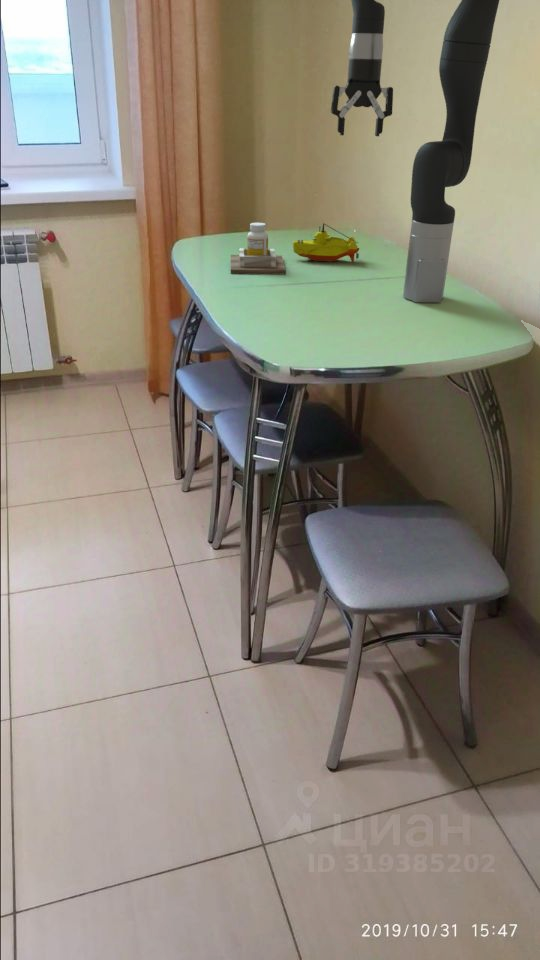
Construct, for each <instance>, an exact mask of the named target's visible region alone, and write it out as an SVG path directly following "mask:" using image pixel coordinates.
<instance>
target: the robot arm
mask: <svg viewBox="0 0 540 960" xmlns="http://www.w3.org/2000/svg"><path fill="white" fill-rule="evenodd" d="M499 4H500V0H460V3H459V4H458V5H457V7H456V9H455V11H454V12H453V14H452V16H451V17H450V20H449V21H448V23H447V25H446V27H445V31H444V34H443V41H442V47H441V51H440V52H441V53H440V58H439V64H438V65H439V66H438V71H439V72H438V73H439V80H440V85H441V89H442V92H443V93H442V94H443V97H444V101H445V102H444V103H445V106H446V107H445V108H446V109H445V110H446V116H445V117H446V118H445V126H444V132H443V137H442V140H439V141H429V142H425V143H424V144H422V145H421V146H420V147H419V149H418V150H417V152H416V154H415V157H414V160H413V165H412V171H411V172H412V173H411V187H410V188H411V189H410V208H411V211H412V216H411V224H410V232H409V242H408V248H407V256H406V257H407V258H406V266H405V275H404V283H403V284H404V285H403V294H402V296H403V298H405V299H407V300H409V301H412V302H413V303H441V302H442V301H443V298H444V294H445V286H446V279H447V278H446V277H447V271H448V264H449V259H450V258H449V257H450V250H451V243H452V237H453V230H454V224H455V219H456V218H455V217H456V209H455V208H454V207H453V206H452V205H450V204H448V203H447V202H446V198H445V197H446V194H445V193H446V188H449V187H455V186H458V185H461V183H462V182H463V181H464V180H465V179H466V177H467V175H468V172H469V171H470V167H471V162H472V155H473V144H474V136H475V127H476V120H477V119H476V118H477V114H478V107H479V103H480V96H481V90H482V88H483V86H482V85H483V80H484V75H485V71H486V67H487V64H488V63H487V62H488V60H489V54H490V48H491V43H492V37H493V32H494V26H495V22H496V17H497V12H498V8H499ZM351 6H352V13H353V14H352V25H351V38H350V45H349V51H348V68H347V83H346V85H345V86H341V85H340V86H339V85H334V86H333V88H332V97H331V98H332V99H331V105H330V106H331V107H330V113H331V114H332V115H334V116H336V117H337V133H339V135H340V136H344V135H345V123H346V118H345V116H346V114H348V112H349V111H350V110H351V108H352V107H354V108H360V107H362V108H363V107H364V108H370V107H371V108H372V110H373V112H375V114H376V116H377V118H376V120H375V133H374V136H375V137H380V134H381V135H382V133H383V127H384V119H386V118H387V117H390V116H392V115H393V102H394V101H393V100H394V88H393V87H392V86H387V87H382V86H381V77H382V76H381V75H382V73H381V72H382V63H383V52H384V30H385V29H384V27H385V16H386V14H385V13H386V10H385V6H384V5H383V4H382V3H381V2H379V1H376V0H351ZM343 93H345V95H346V97H347V98H348V99H347V101H346V102H345V103H344V105H343V106H342V108H341V109H340V110H339V109H338V106H339V101H340V99H339V98H340V97H342V96H343ZM381 94H382V97H383V98H385V106H384V107H385V109H384V111H383V110H382V108H381V106H380V104H379V102H378V101H377V100H378V98H379V97H380V95H381Z"/></svg>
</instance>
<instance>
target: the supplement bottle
mask: <svg viewBox="0 0 540 960" xmlns="http://www.w3.org/2000/svg"><path fill="white" fill-rule="evenodd" d="M266 229H267V228H266V223H264V222H251V223H250V224H249V230H250V231H249V232H248V233H247V238H246V239H247V241H246V242H247V244H246V245H247V247H246V248H247V256H268V249H269V234H268V233H267V231H266Z"/></svg>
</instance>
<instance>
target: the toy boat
mask: <svg viewBox="0 0 540 960" xmlns="http://www.w3.org/2000/svg"><path fill="white" fill-rule="evenodd" d="M325 226H326V227H328V228H330V229H332V230H333V231H335V232H337V233H338V234H341V235H342V236H344V237H346V238H347V240H346V239H344V238H341V237H334V236H331V234H330V233H328V232H327V231H326V230H325ZM318 228H319V231H317V232H316V233H315V234H314V236H313V239H312V240H305V239H304V240H303V239H301V240H300V239H299V240H294V241H293V243H292V244H293V252H294V253H295V254H297V256H299V257H302V258H307V259H308V260H312V261H317V262H318V261H319V262H320V261H321V262H324V261H325V262H331V261H332V262H335V261H337V260H340V259H342V258H344V257H346V256H348V257H349V259H350V260H351V262H352V261H354V262H355V259H356V260H357V259H359V255H360V253H359V250H360V247H358V244H359V242H357V241H356V240H355V237H354V236H348V235H345V234H344V233H341V232H340V231H338V230H337V229H334V228H333V227H331V226H329V225H327V224H326V223H324V222H323V223H322V229H321V227H318ZM355 254H356V255H355Z"/></svg>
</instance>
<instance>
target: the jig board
mask: <svg viewBox="0 0 540 960" xmlns="http://www.w3.org/2000/svg"><path fill="white" fill-rule="evenodd" d="M238 249H239V250H238V251H239V253H238V254H230V274H237V275H238V274H240V275H241V274H252V275H253V274H255V275H286V267H285V263H284V258H283V255H280V254H279V255H276V251H275V248H268V256H247V247H246V248H245V247H244V248H243V247H241V248H238Z"/></svg>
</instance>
